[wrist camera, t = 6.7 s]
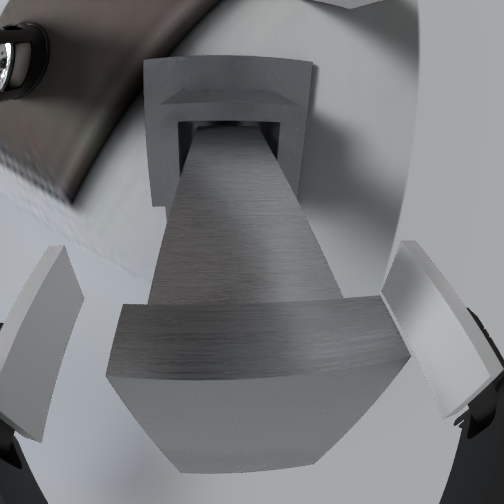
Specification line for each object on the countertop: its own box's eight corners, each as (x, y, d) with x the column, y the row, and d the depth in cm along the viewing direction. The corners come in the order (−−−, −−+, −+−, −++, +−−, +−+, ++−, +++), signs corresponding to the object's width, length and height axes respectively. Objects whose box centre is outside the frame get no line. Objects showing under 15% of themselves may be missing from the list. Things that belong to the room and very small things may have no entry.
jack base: (145, 59, 23) (99, 61, 13) (309, 61, 24) (363, 65, 15) (154, 202, 32) (128, 272, 22) (294, 201, 34) (325, 268, 24)
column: (197, 110, 20) (105, 375, 3) (258, 110, 20) (411, 356, 4) (198, 194, 24) (180, 472, 8) (253, 193, 24) (313, 464, 8)
